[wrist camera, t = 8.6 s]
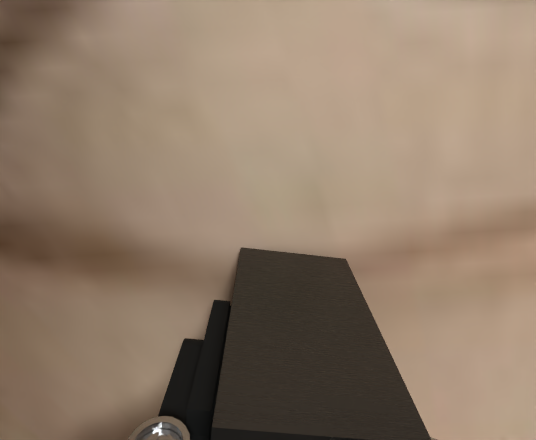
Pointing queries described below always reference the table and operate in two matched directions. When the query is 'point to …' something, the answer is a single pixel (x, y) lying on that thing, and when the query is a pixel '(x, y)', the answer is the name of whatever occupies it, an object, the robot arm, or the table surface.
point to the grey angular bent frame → (307, 357)
